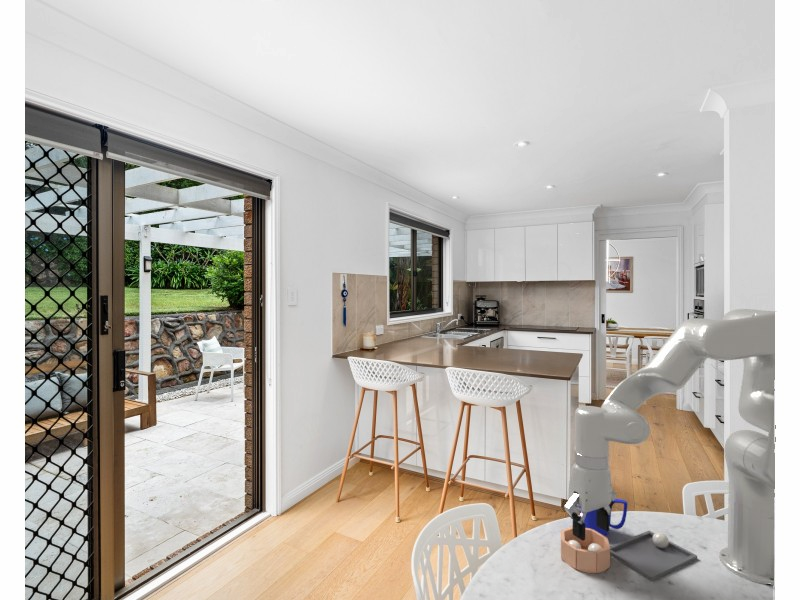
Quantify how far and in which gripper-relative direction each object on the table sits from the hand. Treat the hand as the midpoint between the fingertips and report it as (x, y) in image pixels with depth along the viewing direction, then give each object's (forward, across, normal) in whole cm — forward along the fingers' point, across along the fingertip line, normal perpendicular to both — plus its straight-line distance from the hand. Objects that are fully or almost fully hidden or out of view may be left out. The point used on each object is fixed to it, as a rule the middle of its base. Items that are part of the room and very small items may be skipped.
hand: (590, 532), depth 104 cm
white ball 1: (+6, +2, -2) cm, 7 cm away
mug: (+7, -12, -7) cm, 16 cm away
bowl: (+7, +1, -1) cm, 7 cm away
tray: (+7, -14, +6) cm, 17 cm away
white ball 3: (+7, -20, +4) cm, 21 cm away
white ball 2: (+5, 0, 0) cm, 5 cm away
